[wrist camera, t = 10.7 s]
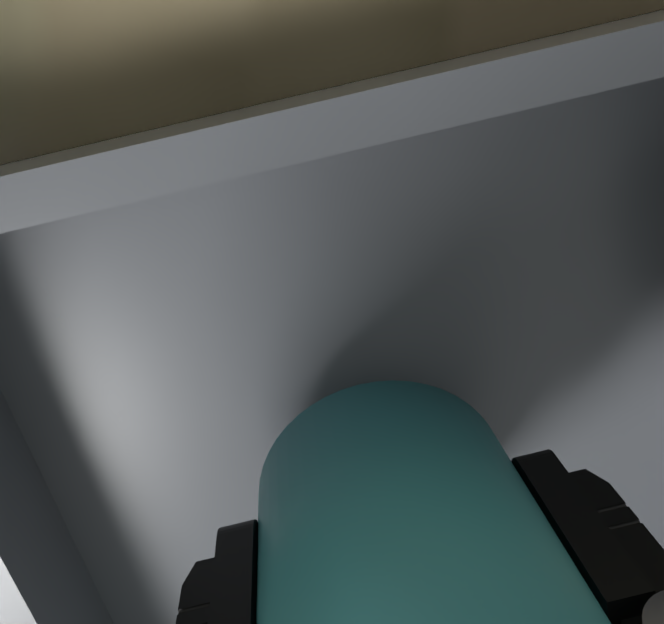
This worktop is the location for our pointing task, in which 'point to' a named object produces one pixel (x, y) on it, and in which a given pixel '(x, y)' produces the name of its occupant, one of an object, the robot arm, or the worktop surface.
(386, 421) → the teal capsule
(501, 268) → the tray
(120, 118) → the worktop surface
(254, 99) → the worktop surface
